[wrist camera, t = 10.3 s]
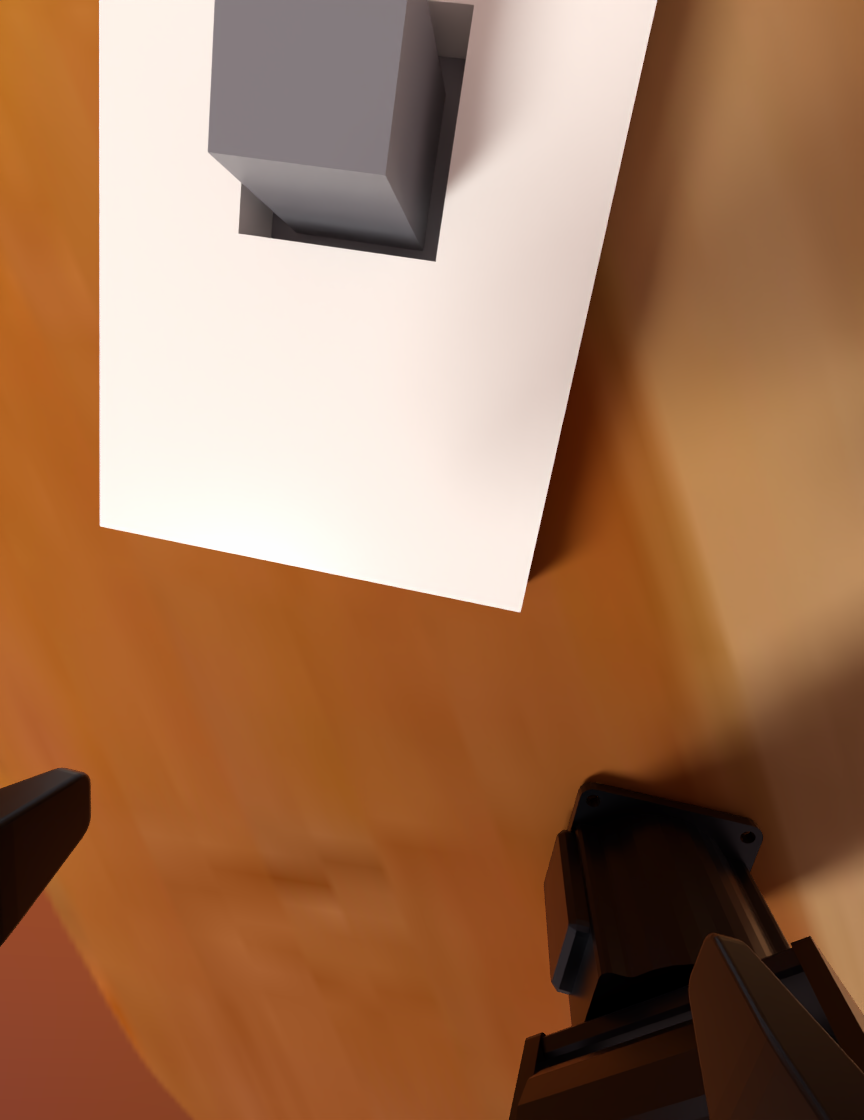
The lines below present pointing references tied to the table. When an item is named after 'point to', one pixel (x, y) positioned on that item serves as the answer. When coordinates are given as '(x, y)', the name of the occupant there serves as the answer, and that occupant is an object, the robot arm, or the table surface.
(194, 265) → the socket plate
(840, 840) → the table surface
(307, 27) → the block
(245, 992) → the table surface
